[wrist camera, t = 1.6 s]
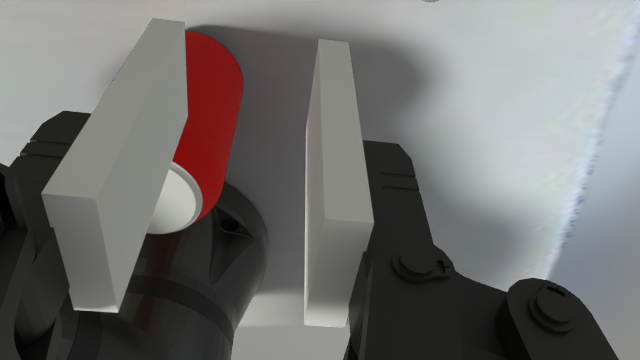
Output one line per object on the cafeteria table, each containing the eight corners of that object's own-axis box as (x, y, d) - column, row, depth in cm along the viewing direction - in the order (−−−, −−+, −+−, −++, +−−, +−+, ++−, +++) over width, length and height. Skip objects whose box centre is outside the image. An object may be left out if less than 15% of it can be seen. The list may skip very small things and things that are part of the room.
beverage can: (215, 129, 34) (179, 265, 24) (127, 81, 31) (51, 210, 22) (264, 61, 31) (244, 187, 21) (170, 1, 28) (102, 114, 19)
